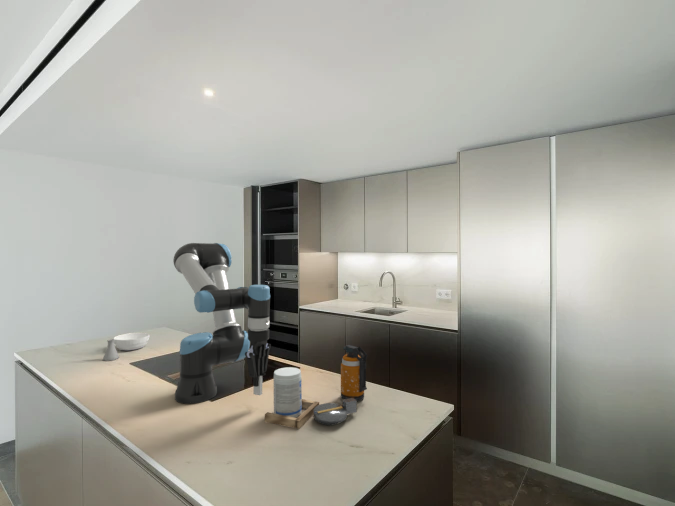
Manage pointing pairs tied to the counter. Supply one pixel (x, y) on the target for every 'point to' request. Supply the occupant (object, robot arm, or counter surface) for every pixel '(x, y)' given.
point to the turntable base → (329, 424)
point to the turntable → (334, 411)
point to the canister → (353, 373)
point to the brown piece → (291, 420)
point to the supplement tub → (287, 392)
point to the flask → (110, 351)
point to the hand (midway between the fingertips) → (257, 393)
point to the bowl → (131, 341)
